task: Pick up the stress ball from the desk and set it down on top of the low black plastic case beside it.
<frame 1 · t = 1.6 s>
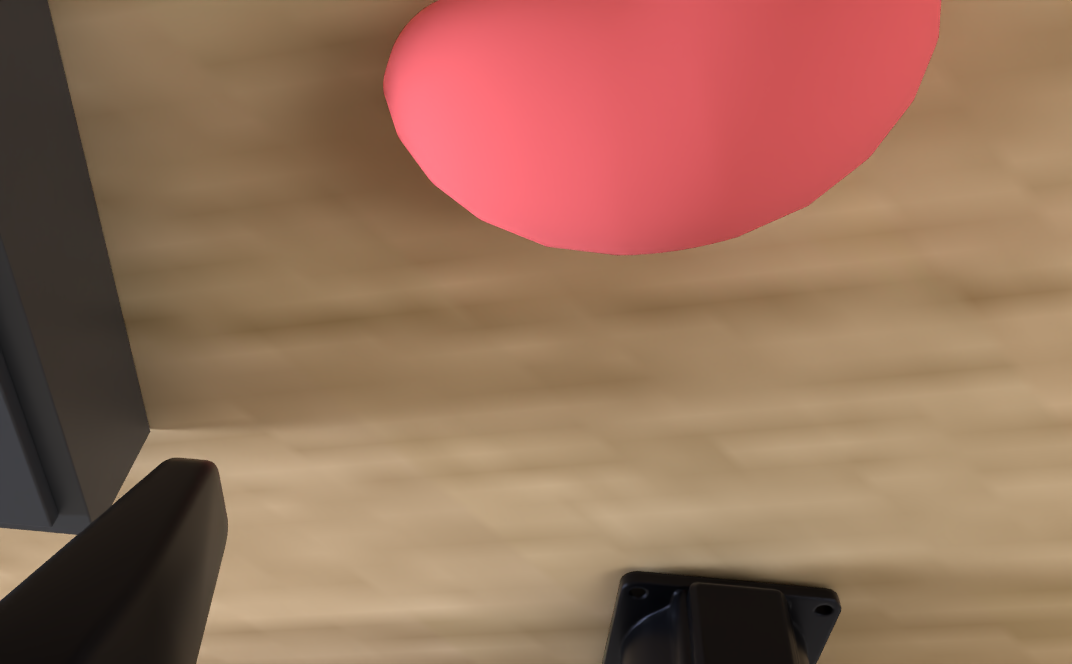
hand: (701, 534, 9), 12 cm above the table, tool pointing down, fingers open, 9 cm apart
stress ball: (644, 36, 18), on the table
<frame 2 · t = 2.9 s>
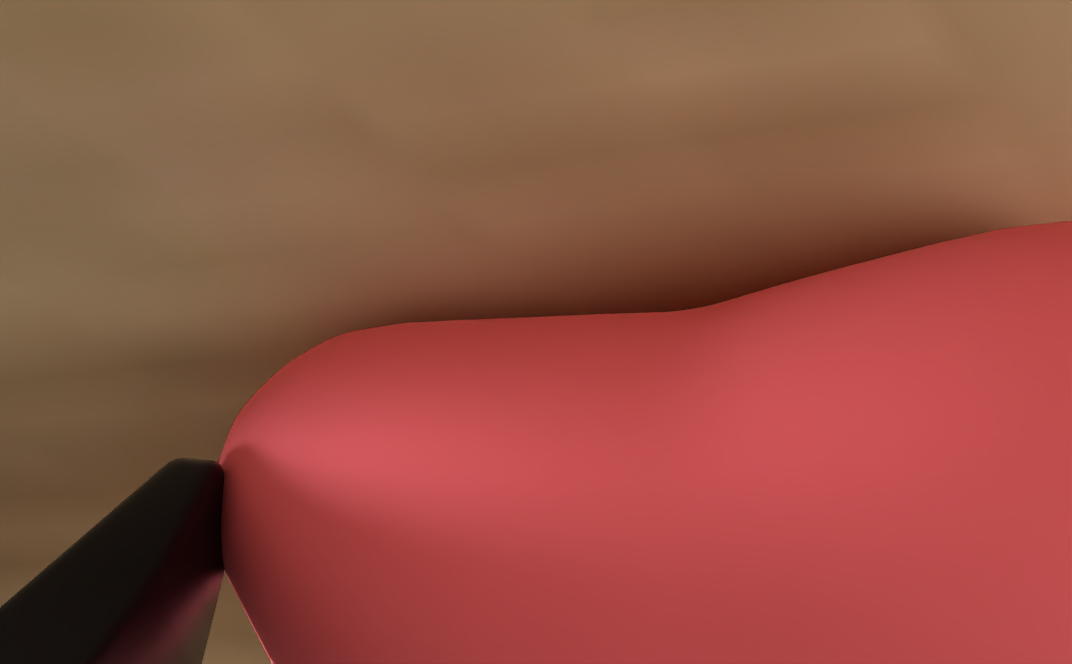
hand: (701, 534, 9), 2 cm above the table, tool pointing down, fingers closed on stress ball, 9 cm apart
stress ball: (687, 356, 11), on the table, touching gripper
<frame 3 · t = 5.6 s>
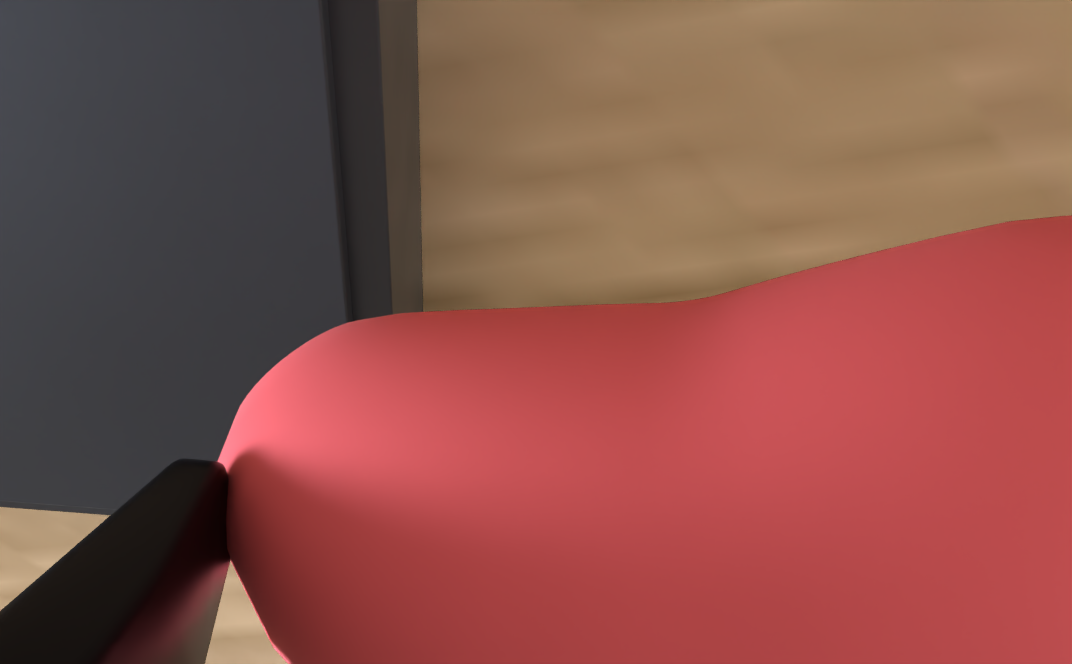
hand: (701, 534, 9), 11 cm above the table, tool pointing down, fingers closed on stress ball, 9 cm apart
black case: (127, 172, 19), on the table
stress ball: (691, 352, 11), point 8 cm above the table, touching gripper
when the fingers open (7 cm above the table, at t = 8.5 s): stress ball stays where it is, resting on black case.
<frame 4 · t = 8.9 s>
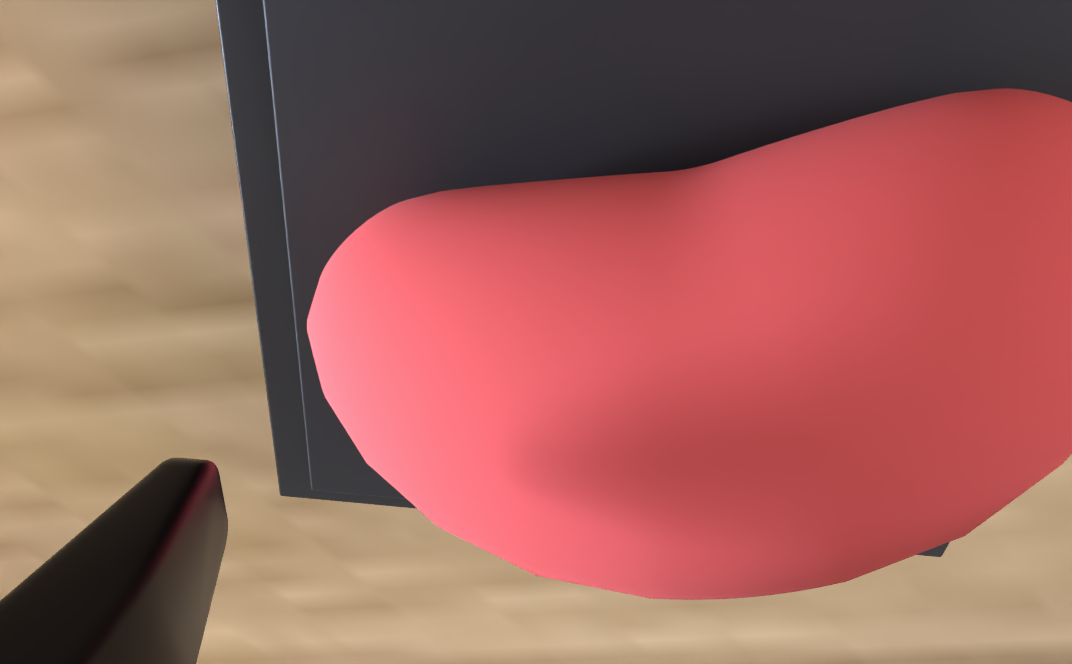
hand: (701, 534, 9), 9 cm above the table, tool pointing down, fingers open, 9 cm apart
black case: (661, 106, 16), on the table
stress ball: (689, 229, 13), point 4 cm above the table, touching black case
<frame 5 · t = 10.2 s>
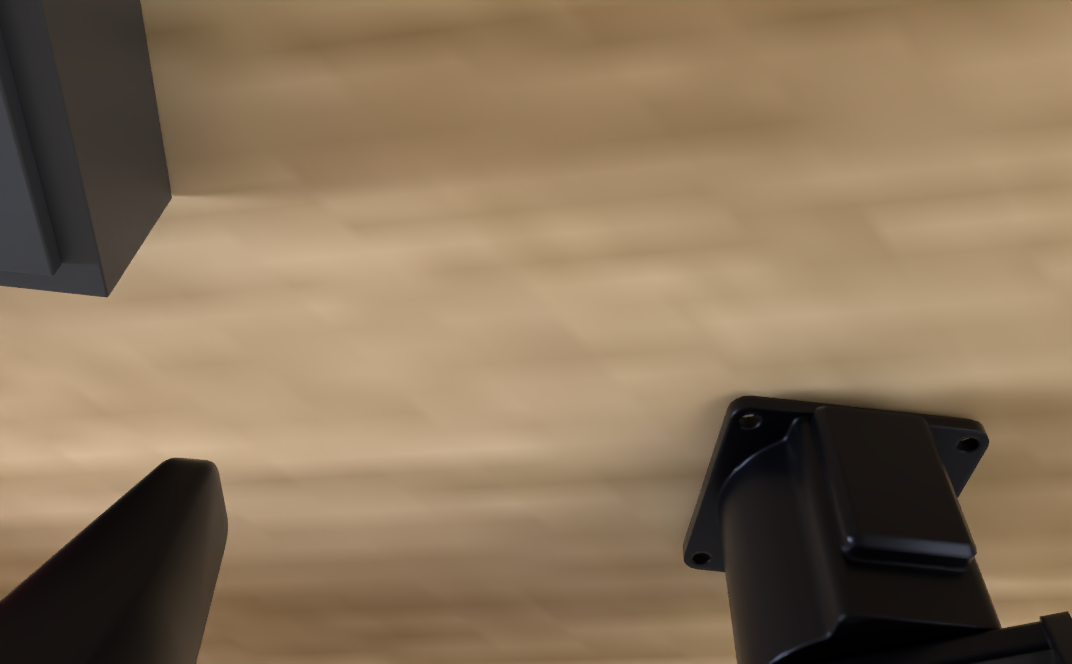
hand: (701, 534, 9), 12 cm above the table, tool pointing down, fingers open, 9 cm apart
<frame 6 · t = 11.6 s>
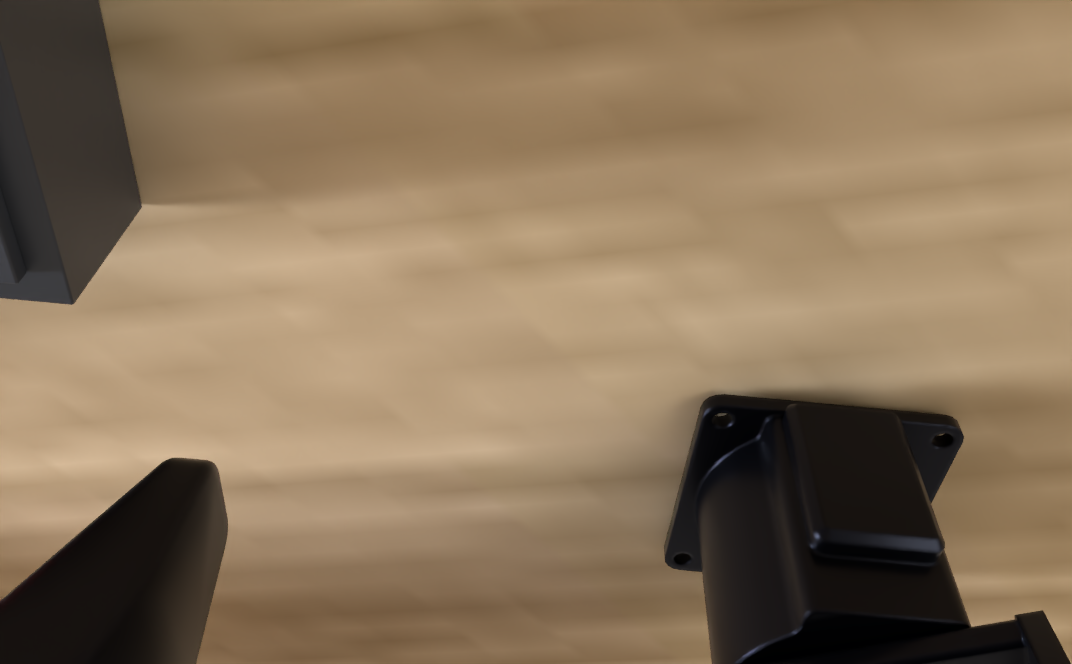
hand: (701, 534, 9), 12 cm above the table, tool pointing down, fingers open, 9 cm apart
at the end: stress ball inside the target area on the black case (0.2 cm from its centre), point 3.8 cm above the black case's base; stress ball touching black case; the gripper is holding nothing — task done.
